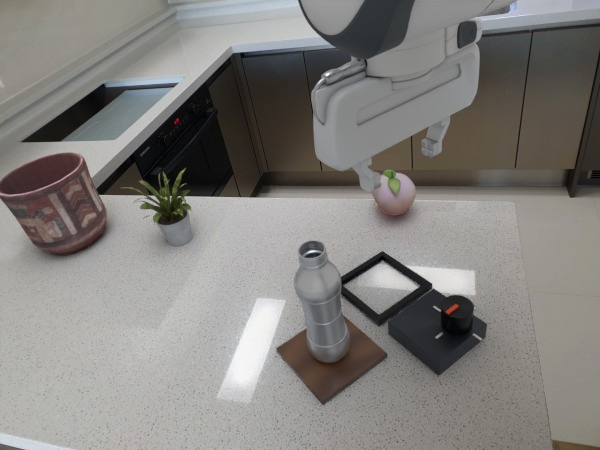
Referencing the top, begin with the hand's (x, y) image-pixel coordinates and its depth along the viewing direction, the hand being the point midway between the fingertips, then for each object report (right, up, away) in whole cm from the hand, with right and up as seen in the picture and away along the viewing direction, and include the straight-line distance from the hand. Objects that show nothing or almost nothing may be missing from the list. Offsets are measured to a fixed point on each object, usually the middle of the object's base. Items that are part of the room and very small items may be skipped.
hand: (402, 170), depth 51 cm
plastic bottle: (-7, -25, +18) cm, 32 cm away
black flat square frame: (+3, -17, +28) cm, 33 cm away
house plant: (-38, -10, +49) cm, 63 cm away
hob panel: (+9, -23, +18) cm, 30 cm away
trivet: (-7, -26, +18) cm, 32 cm away
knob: (+11, -20, +16) cm, 28 cm away
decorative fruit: (+8, -4, +44) cm, 45 cm away
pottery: (-63, -9, +56) cm, 84 cm away
